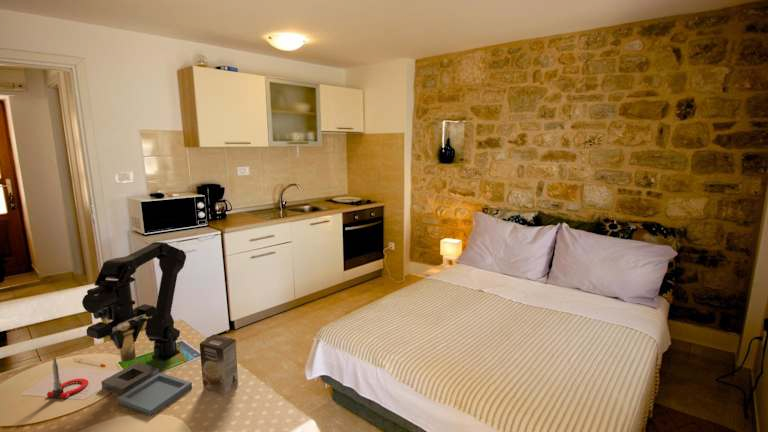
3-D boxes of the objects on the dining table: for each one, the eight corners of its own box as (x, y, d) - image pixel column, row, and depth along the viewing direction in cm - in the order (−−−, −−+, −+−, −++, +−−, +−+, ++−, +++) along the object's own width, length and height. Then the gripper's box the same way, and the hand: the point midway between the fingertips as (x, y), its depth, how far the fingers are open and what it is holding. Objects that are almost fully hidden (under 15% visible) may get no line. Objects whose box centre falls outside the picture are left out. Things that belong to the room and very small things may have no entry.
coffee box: (202, 390, 121) (197, 343, 118) (216, 378, 127) (213, 333, 124) (225, 396, 118) (221, 348, 115) (239, 384, 124) (236, 338, 121)
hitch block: (138, 368, 133) (137, 361, 132) (159, 375, 129) (158, 368, 128) (102, 388, 122) (101, 381, 121) (123, 396, 118) (122, 389, 117)
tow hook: (72, 380, 126) (44, 397, 117) (69, 343, 125) (39, 357, 116) (95, 383, 125) (68, 400, 116) (91, 345, 123) (63, 360, 114)
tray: (160, 378, 127) (160, 372, 127) (192, 388, 122) (191, 382, 122) (118, 404, 114) (117, 398, 114) (151, 416, 109) (150, 410, 109)
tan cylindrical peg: (130, 352, 127) (127, 325, 125) (141, 355, 125) (138, 327, 123) (114, 360, 122) (111, 332, 120) (125, 364, 120) (122, 335, 118)
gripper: (132, 285, 131) (137, 327, 134) (71, 306, 114) (78, 354, 117) (155, 290, 127) (160, 333, 130) (95, 312, 110) (102, 362, 113)
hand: (126, 345), depth 123 cm, fingers closed on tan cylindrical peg, 4 cm apart
